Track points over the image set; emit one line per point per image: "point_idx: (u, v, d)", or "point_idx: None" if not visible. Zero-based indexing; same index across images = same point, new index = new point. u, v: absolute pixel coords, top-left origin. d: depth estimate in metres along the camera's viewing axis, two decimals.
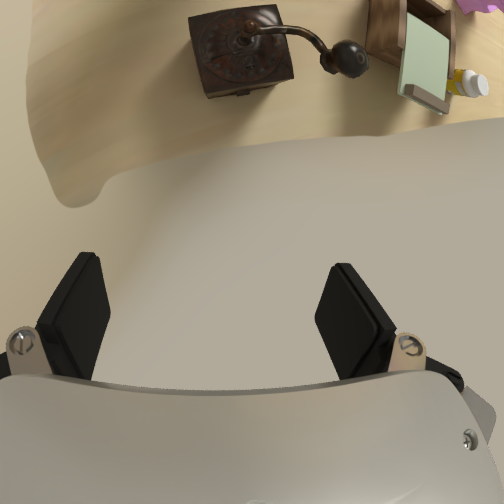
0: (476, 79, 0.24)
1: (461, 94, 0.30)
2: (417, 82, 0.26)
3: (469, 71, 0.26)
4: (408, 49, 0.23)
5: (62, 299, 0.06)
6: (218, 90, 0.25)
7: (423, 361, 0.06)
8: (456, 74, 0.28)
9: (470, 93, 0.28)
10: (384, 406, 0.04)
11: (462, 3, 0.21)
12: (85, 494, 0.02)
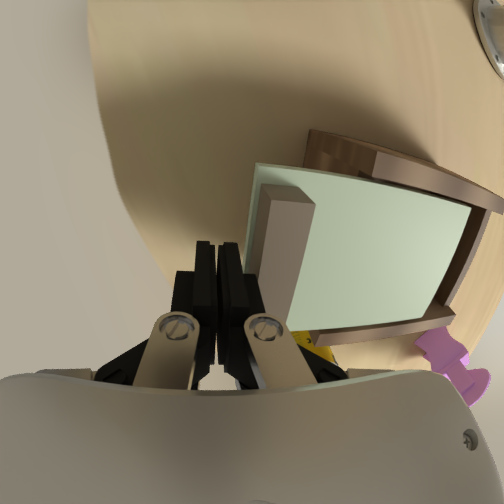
0: None
1: None
2: (313, 235, 0.12)
3: None
4: (402, 200, 0.12)
5: (207, 283, 0.08)
6: None
7: (290, 338, 0.07)
8: (321, 348, 0.23)
9: None
10: (384, 406, 0.04)
11: (432, 336, 0.33)
12: (85, 494, 0.02)
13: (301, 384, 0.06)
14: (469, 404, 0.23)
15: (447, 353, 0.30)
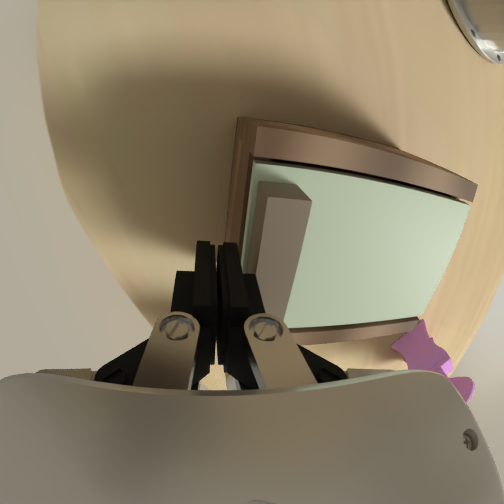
0: None
1: None
2: (311, 232, 0.12)
3: None
4: (400, 197, 0.12)
5: (208, 283, 0.08)
6: None
7: (290, 338, 0.07)
8: None
9: (230, 385, 0.20)
10: (384, 406, 0.04)
11: (410, 340, 0.32)
12: (85, 494, 0.02)
13: (301, 384, 0.06)
14: None
15: (427, 359, 0.29)
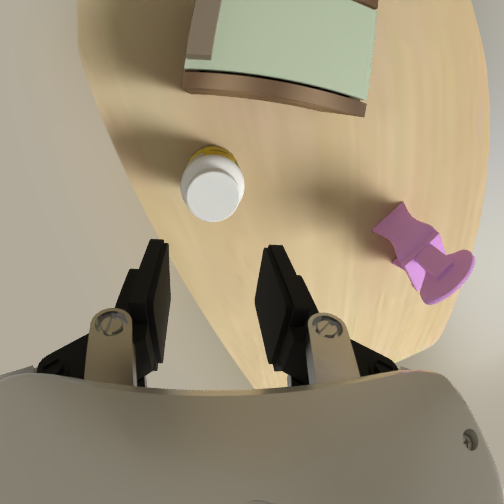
0: (218, 170, 0.19)
1: None
2: (238, 0, 0.12)
3: (237, 171, 0.21)
4: None
5: (148, 280, 0.08)
6: None
7: (347, 339, 0.07)
8: (222, 153, 0.22)
9: (183, 178, 0.21)
10: (384, 406, 0.04)
11: (392, 221, 0.33)
12: (85, 494, 0.02)
13: None
14: (452, 287, 0.22)
15: (414, 237, 0.30)
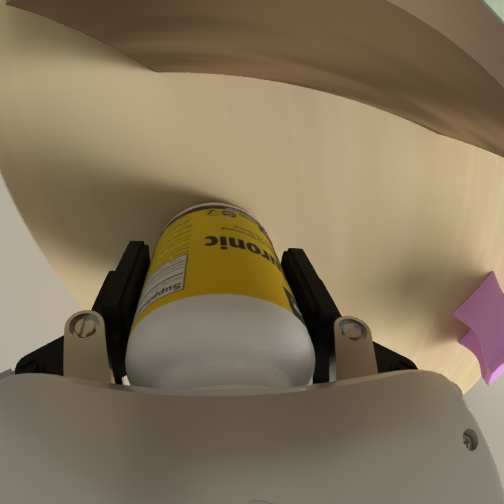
0: None
1: None
2: None
3: (304, 350, 0.06)
4: None
5: (123, 283, 0.07)
6: None
7: (370, 343, 0.07)
8: (245, 261, 0.07)
9: (128, 371, 0.06)
10: (384, 406, 0.04)
11: (480, 302, 0.18)
12: (85, 494, 0.02)
13: None
14: None
15: None
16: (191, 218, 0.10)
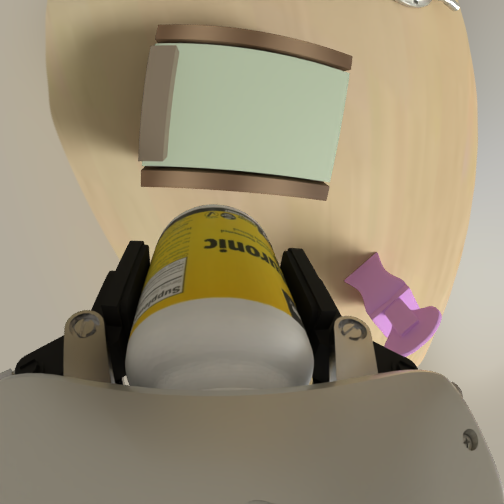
0: None
1: None
2: (191, 81, 0.15)
3: (302, 353, 0.06)
4: (262, 58, 0.15)
5: (123, 283, 0.07)
6: None
7: (370, 343, 0.07)
8: (244, 264, 0.07)
9: (129, 373, 0.06)
10: (384, 406, 0.04)
11: (364, 272, 0.35)
12: (85, 494, 0.02)
13: None
14: (413, 347, 0.24)
15: (384, 290, 0.32)
16: (190, 220, 0.10)
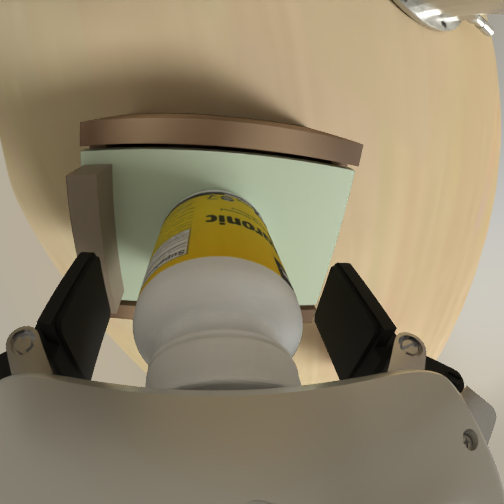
0: (242, 367, 0.05)
1: None
2: (134, 206, 0.12)
3: (291, 308, 0.07)
4: (227, 164, 0.12)
5: (62, 299, 0.06)
6: None
7: (423, 361, 0.06)
8: (240, 234, 0.09)
9: (136, 328, 0.07)
10: (384, 406, 0.04)
11: None
12: (85, 494, 0.02)
13: None
14: None
15: None
16: (193, 202, 0.11)
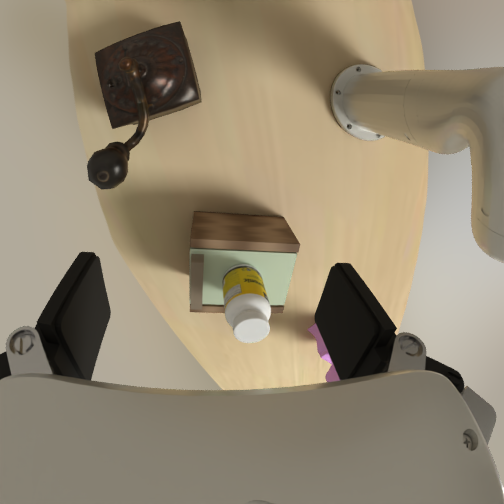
0: (256, 316, 0.28)
1: (224, 299, 0.32)
2: (212, 269, 0.35)
3: (267, 305, 0.30)
4: (247, 255, 0.35)
5: (62, 299, 0.06)
6: (96, 63, 0.20)
7: (423, 361, 0.06)
8: (254, 285, 0.32)
9: (228, 311, 0.30)
10: (384, 406, 0.04)
11: None
12: (85, 494, 0.02)
13: None
14: None
15: None
16: (237, 271, 0.34)
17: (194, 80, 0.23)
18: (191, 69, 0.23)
